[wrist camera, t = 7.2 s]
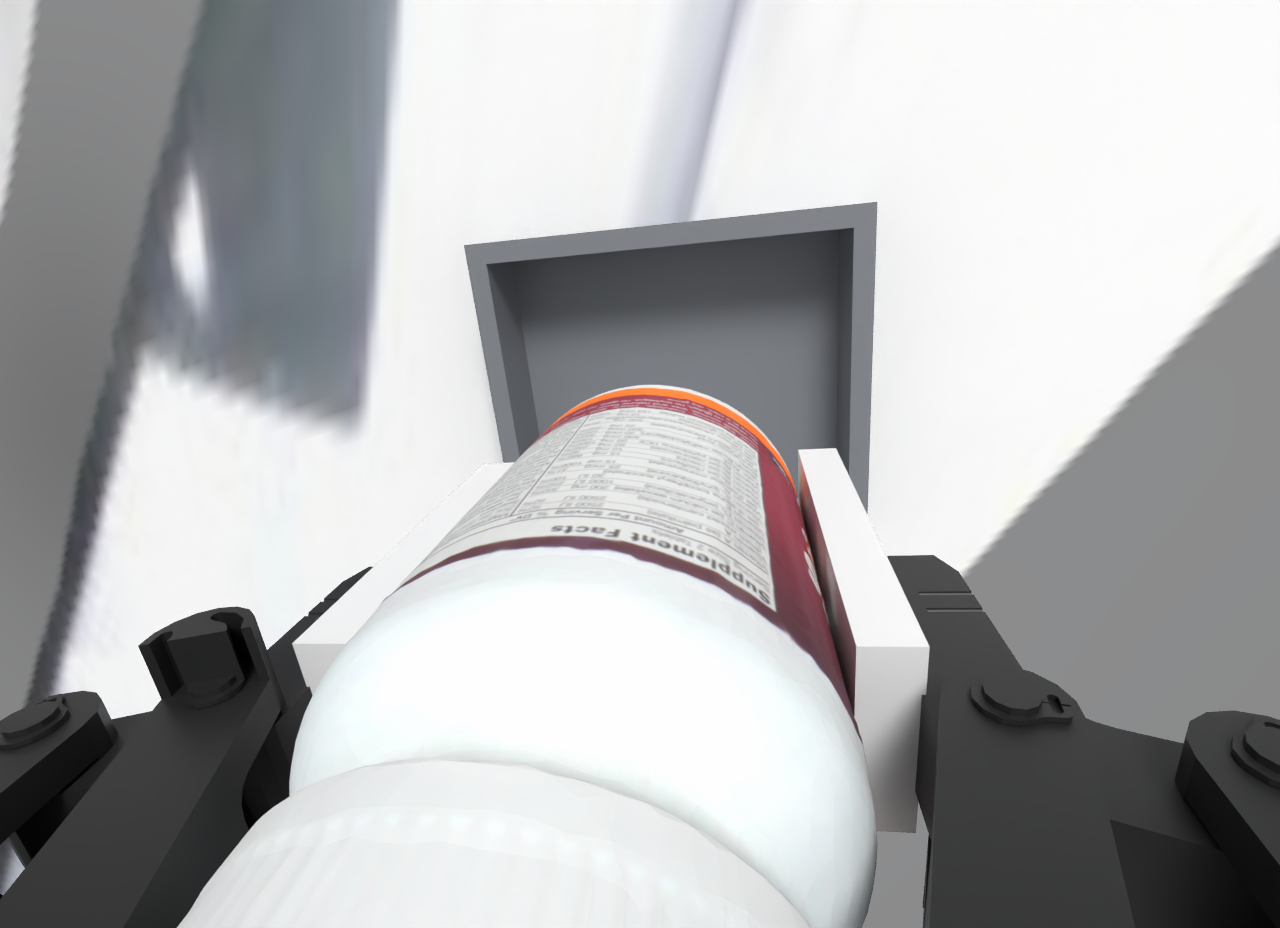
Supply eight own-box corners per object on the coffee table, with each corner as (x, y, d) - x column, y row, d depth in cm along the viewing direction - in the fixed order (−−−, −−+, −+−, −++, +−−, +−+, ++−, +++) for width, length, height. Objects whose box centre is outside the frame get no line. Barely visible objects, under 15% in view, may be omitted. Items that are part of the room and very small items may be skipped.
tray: (548, 549, 26) (526, 587, 23) (498, 243, 22) (463, 245, 19) (849, 542, 24) (865, 583, 21) (856, 205, 20) (877, 202, 17)
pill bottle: (772, 645, 15) (877, 1670, 4) (521, 606, 15) (70, 1421, 5) (823, 394, 13) (1301, 1244, 2) (526, 359, 13) (-289, 882, 3)
